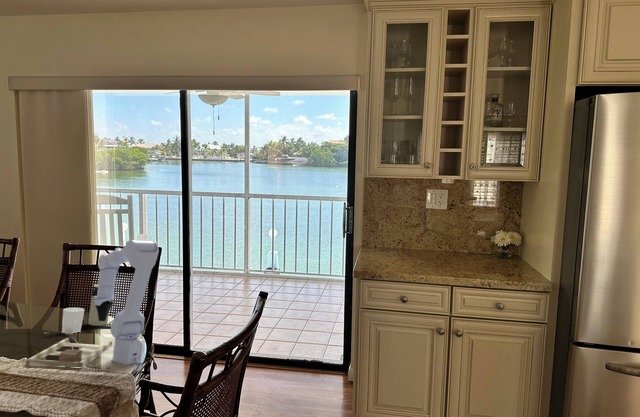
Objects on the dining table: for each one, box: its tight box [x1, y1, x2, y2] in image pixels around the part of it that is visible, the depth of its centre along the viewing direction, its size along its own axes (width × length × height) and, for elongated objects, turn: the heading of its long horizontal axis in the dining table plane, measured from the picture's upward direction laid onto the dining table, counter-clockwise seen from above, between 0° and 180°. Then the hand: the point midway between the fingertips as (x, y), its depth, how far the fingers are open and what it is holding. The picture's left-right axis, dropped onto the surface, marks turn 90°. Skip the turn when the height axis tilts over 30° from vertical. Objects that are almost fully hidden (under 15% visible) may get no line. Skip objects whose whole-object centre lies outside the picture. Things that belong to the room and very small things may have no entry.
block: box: [58, 348, 82, 362], centre depth 144 cm, size 5×5×4 cm
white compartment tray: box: [25, 337, 113, 368], centre depth 153 cm, size 27×17×3 cm, turn 6°
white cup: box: [61, 307, 85, 335], centre depth 183 cm, size 8×8×10 cm
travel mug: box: [88, 283, 111, 327], centre depth 201 cm, size 8×8×18 cm
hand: (102, 320), depth 167 cm, fingers closed
